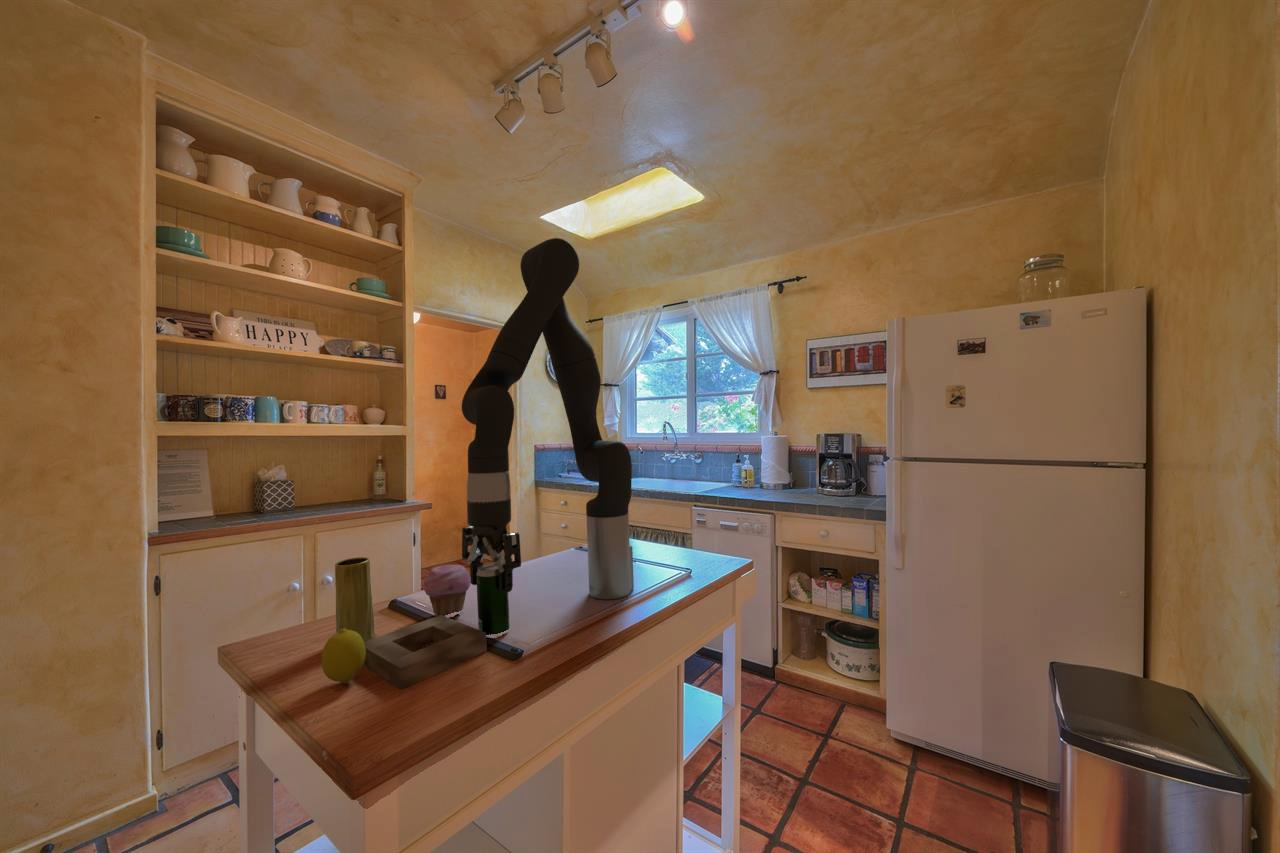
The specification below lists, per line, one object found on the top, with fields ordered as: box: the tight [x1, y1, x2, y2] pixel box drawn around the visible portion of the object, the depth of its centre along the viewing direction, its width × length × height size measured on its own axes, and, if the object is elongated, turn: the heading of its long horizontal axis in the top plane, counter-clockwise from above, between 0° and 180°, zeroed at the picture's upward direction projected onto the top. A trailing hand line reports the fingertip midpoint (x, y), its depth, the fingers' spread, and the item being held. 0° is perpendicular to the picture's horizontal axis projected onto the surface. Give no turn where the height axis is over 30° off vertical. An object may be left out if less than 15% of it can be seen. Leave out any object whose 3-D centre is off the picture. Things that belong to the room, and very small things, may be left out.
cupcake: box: [422, 564, 472, 616], centre depth 96 cm, size 9×9×10 cm
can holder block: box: [363, 615, 488, 690], centre depth 78 cm, size 14×14×3 cm
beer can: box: [476, 562, 510, 635], centre depth 87 cm, size 5×5×12 cm
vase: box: [334, 556, 376, 642], centre depth 85 cm, size 6×6×14 cm
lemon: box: [321, 629, 366, 685], centre depth 71 cm, size 6×6×8 cm
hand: (490, 587), depth 86 cm, fingers open, 8 cm apart
